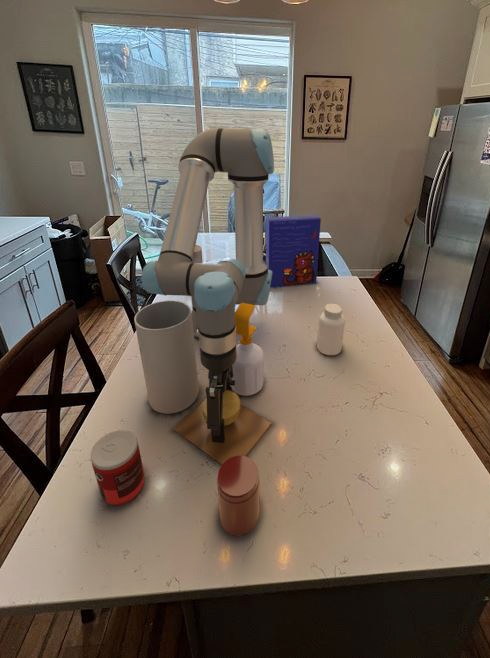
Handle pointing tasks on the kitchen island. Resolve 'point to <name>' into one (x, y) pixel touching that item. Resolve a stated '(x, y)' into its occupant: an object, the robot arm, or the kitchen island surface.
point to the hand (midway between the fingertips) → (223, 423)
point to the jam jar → (238, 495)
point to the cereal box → (292, 249)
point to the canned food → (118, 467)
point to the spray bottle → (247, 355)
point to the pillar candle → (197, 255)
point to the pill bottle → (331, 330)
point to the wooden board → (237, 434)
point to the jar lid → (227, 407)
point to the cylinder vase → (168, 355)
